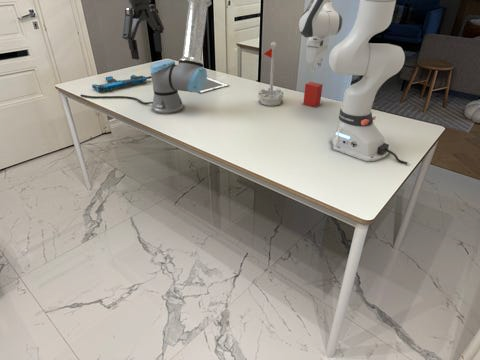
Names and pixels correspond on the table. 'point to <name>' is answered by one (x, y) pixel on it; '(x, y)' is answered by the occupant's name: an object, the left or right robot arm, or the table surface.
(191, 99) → the table surface
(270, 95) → the flag stand
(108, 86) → the submachine gun
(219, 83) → the tablet
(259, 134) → the table surface
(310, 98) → the block
